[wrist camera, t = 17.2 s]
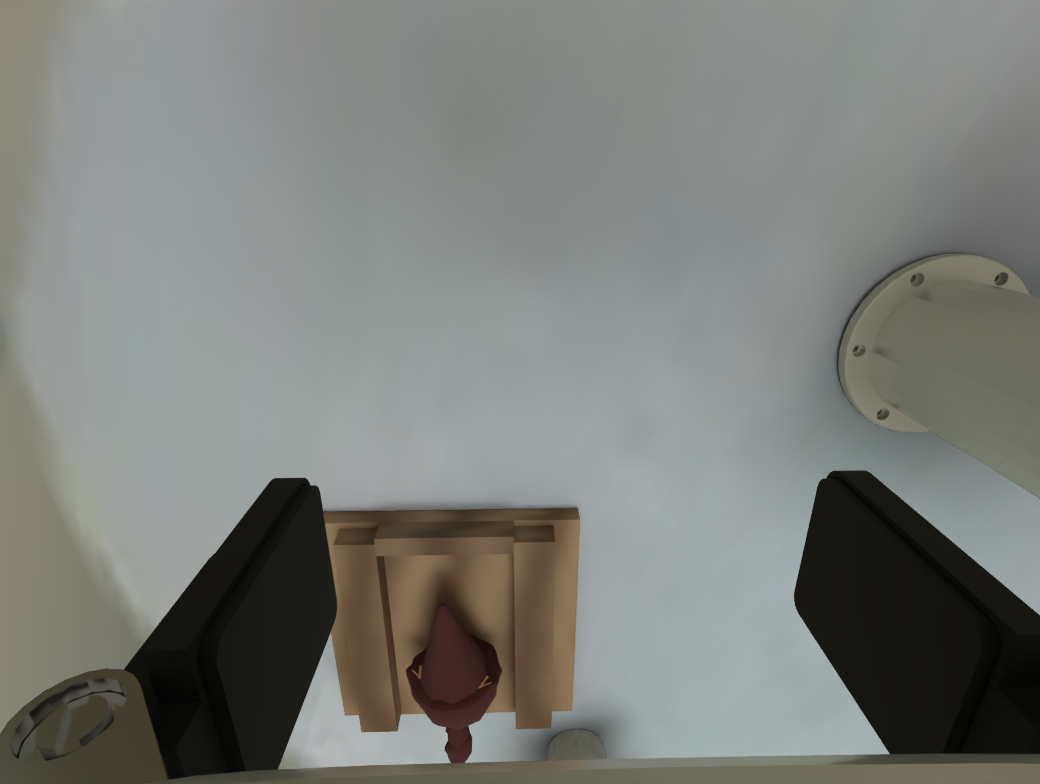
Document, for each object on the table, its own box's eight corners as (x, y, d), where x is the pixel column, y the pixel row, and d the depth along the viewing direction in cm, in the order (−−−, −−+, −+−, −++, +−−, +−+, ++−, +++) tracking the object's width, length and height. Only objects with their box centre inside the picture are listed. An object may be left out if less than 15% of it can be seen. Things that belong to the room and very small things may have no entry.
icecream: (371, 639, 38) (409, 769, 45) (476, 654, 36) (499, 787, 43) (412, 564, 44) (440, 689, 51) (503, 575, 42) (519, 703, 49)
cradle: (577, 508, 44) (583, 535, 40) (570, 696, 51) (574, 731, 48) (319, 512, 43) (303, 539, 40) (349, 700, 51) (338, 736, 47)
